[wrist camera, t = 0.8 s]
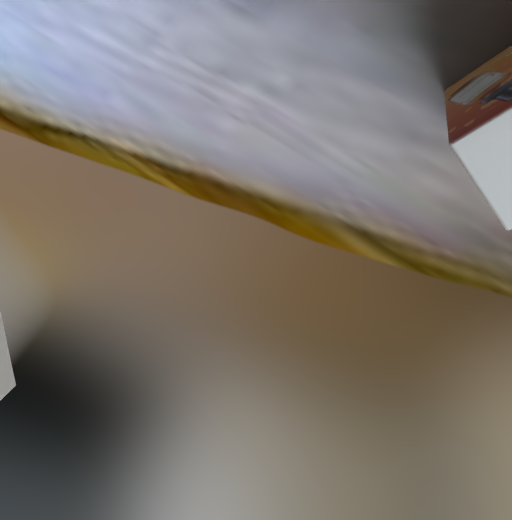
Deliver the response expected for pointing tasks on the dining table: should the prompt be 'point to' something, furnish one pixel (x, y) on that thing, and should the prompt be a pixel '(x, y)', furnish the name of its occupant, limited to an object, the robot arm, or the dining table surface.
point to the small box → (485, 130)
